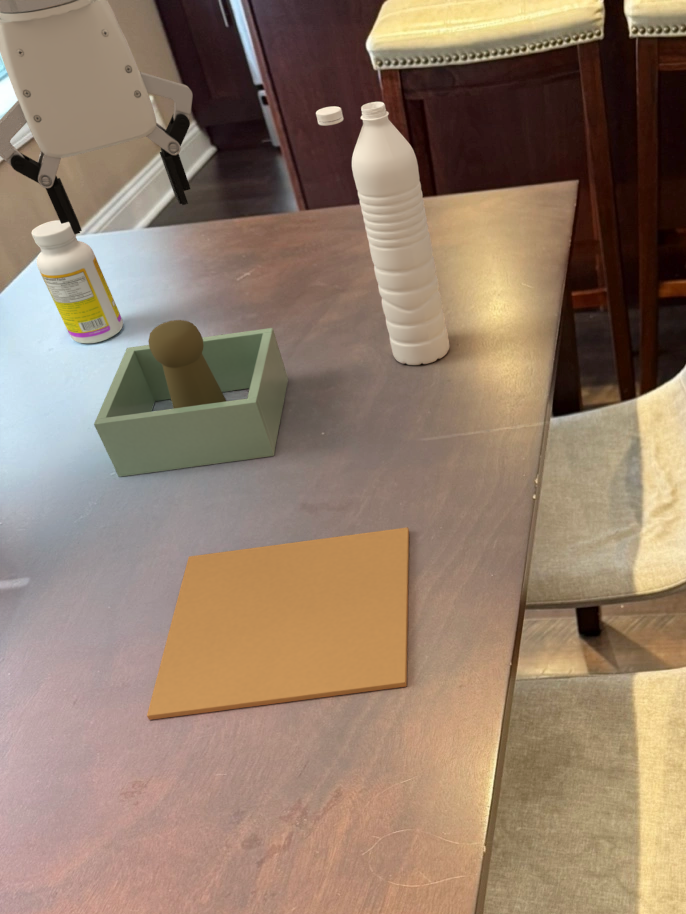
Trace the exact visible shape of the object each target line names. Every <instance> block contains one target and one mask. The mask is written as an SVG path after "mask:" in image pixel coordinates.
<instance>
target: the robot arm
mask: <svg viewBox="0 0 686 914" xmlns="http://www.w3.org/2000/svg"><path fill="white" fill-rule="evenodd" d="M0 56H1V58H2V62H3V64H4V68H5V70H6V73H7V75H8V78H9V80H10V81H9V82H10V83H11V86H12V88H13V91H14V94H15V97H16V99H17V101H16V102H15V103H14V104H13V105H12V106H11V107H10V108H9V109H8V111H7V112H6V113H4V115H3V116H2V117H0V158H2V160H4V161H5V162H6V163H7V164H8V165H10V167H11V168H12V169H13V170H14V171H15V172H17V173H18V174H20V175H23V176H24V177H26V178H28V179H30V180H32V181H34V182H36V183H37V184H39V185H40V186H41V187H42V188H44V189H45V191H46V193H47V195H48V197H49V200H50V202H51V204H52V206H53V209H54V212H55V213H56V216H57V217H58V220H60V222H61V224H63V223H67V222H69V223H70V225H71V228H72V230H73V232H74V234H76V235H78V234H81V232H82V231H83V230H82V227H81V224H80V222H79V221H80V220H79V219H78V217H77V214H76V212H75V209H74V208H73V205H72V203H71V200H70V198H69V196H68V194H67V191H66V189H65V186H64V184H63V182H62V180H61V177H58V176H57V173H58V170H59V166H60V163H61V160H62V159H65V158H70V157H75V156H79V155H82V154H87V153H91V152H95V151H99V150H102V149H103V150H104V149H106V148H111V147H114V146H117V145H122V144H125V143H126V144H127V143H130V142H133V141H137V140H140V139H143V138H145V137H146V138H147V139H148V140H150V141H152V142H153V143H154V144H156V145H157V146H159V148H160V151H159V154H160V158H161V161H162V164H163V166H164V169H165V173H166V174H167V177H168V178H167V179H168V180H169V184H170V186H171V190H172V191H173V194H174V196H175V198H176V200H177V202H178V203H179V205H182V206H185V205H188V204H189V202H188V199H187V196H186V193H185V192H186V191H189V190H191V185H190V183H189V180H188V177H187V173H186V171H185V168H184V165H183V163H182V159H181V157H180V152H181V150H182V149H181V148H182V147H181V146H182V145H183V142H184V140H185V137H186V135H187V133H188V131H189V128H190V125H191V121H190V119H191V115H192V106H193V105H192V104H193V98H194V97H193V91H192V89H191V88H190V87H189V86H188V85H186V84H184V83H180V82H176V81H174V80H170V79H167V78H163V77H160V76H156V75H154V74H150V73H146V72H144V71H140V69H139V66H138V64H137V62H136V58H135V57H134V55H133V52H132V49H131V47H130V45H129V42H128V40H127V38H126V36H125V34H124V32H123V29H122V27H121V25H120V22H119V20H118V18H117V16H116V14H115V11H114V10H113V8H112V6H111V4H110V2H109V0H0ZM150 94H151V95H155V96H159V97H161V98H165V99H168V100H171V101H173V113H172V115H171V118H170V120H169V122H168V124H167V127H166V128H164V126H162V125H161V124H160V123H158V122H157V117H156V113H155V109H154V107H153V104H152V100H151V98H150ZM26 124H27V126H28V128H29V131H30V133H31V135H32V137H33V139H34V141H35V142H36V144H37V147H38V149H39V150H40V152H39V155H38V159H37V161H36V160H35V159H33V158H31V157H29V156H27V155H26V154H23V153H22V152H20V151H19V150H18V149H17V148H16V147H15V146H14V145H13V144H12V143H11V140H12V139H13V138H14V137H15V136H16V135H17V134H18V132H19V131H20V130H21V129H22V128H23V127H24V126H25V125H26Z"/></svg>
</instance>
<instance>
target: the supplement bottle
mask: <svg viewBox="0 0 686 914" xmlns="http://www.w3.org/2000/svg"><path fill="white" fill-rule="evenodd" d="M31 236H32V238H33V240H34V243H35V245H37V246H38V247H39V248H40V252H39V254H38V255H37V257H36V266H37V269H38V271H39V273H40V275H41V277H42V279H43V281H44V284H45V286H46V288H47V291H48V292H49V294H50V296H51V298H52V301H53V303H54V305H55V307H56V309H57V311H58V313H59V315H60V318H61V319H62V322H63V324H64V326H65V328H66V331H67V332H68V334H69V337H70V338H71V339H72V340H73V341H75V342H77V343H79V344H96V343H100V342H103V341H106V340H108V339H111V338H112V337H114V336H115V335H117V334H118V333H119V332H121V330H123V329H122V328H123V326H124V320H123V318H122V316H121V313H120V310H119V308H118V306H117V304H116V301H115V299H114V296H113V294H112V292H111V290H110V287H109V285H108V283H107V281H106V278H105V275H104V273H103V271H102V269H101V266H100V264H99V262H98V259H97V256H96V254H95V252H94V250H93V248H92V247H91V246H90V245H89V244H87V243H86V242H84V241H81V240H78V238H77V234H74V232H73V230H72V228H71V225H70V223H69V222H67V223H63V224H61V222H60V220H59V219H55V220H50V221H47V222H44V223H42V224H39V225H37V226H36V227H34V228H33V229H32V230H31Z"/></svg>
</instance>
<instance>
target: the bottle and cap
mask: <svg viewBox="0 0 686 914" xmlns="http://www.w3.org/2000/svg"><path fill="white" fill-rule="evenodd" d="M360 109H361V110H360V111H361V116H360V120H362V126H361V129H360V132H359V135H358V137H357V140H356V144H355V146H354V149H353V152H352V155H351V156H352V157H351V170H352V176H353V180H354V183H355V187H356V190H357V197H358V200H359V205H360V209H361V214H362V216H363V217H362V219H363V224H364V228H365V232H366V237H367V240H368V246H369V253H370V258H371V261H372V263H373V265H374V266H373V270H374V276H375V279H376V282H377V284H378V285H377V287H378V294H379V296H380V297H381V307H382V312H383V315H384V317H385V325H386V329H387V333H388V335H389V343H390V348H391V352H392V355H393V358H394V359H395V360H396V361H397V362H398V363H400V364H403V365H404V364H406V365H408V366H420V365H421V364H423V365H427V364H432V363H433V362H434V363H435V362H436V361H437V360H439V359H440V360H441V359H442V358H443V357H445V356H446V355H447V353H448V352H449V350H450V340H449V334H448V329H447V326H446V319H445V313H444V312H445V311H444V308H443V299H442V296H441V292H440V290H439V288H440V285H439V284H440V283H439V279H438V276H437V267H436V262H435V261H436V260H435V257H434V255H433V252H434V250H433V244H432V239H431V234H430V231H429V224H428V218H427V215H426V214H427V213H426V207H425V200H424V198H423V196H424V195H423V191H422V184H421V181H420V172H419V164H418V159H417V156H416V153H415V150H414V148H413V147H412V145H411V144H410V143H409V141H408V140H407V139H406V137H404V135H403V134H402V133H401V132H400V131H399V130H398V128H397V127H396V126H395V125H394V124H393V123H392V121H391V120H390V119H389V114H390V112H389V111H388V110H387V109H386V104H385V103H384V102H383V101H371V102H368V103H365V104H363V105H362V106H361V107H360ZM315 116H316V119H317V120H316V121H317V124H318V125H319V126H334V125H337V124H339V123H342V122H343V121H344V115H343V110H342V107H339V106H335V105H334V106H326V107H322V108H320V109H318V110H316V112H315Z"/></svg>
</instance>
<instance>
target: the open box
mask: <svg viewBox="0 0 686 914" xmlns="http://www.w3.org/2000/svg"><path fill="white" fill-rule="evenodd" d="M202 339H203V345H204V346H203V351H202V354H203V356H204V358H205V360H206V362H207V364H208V366H209V368H210V370H211V372H212V374H213V376H214V378H215V380H216V381H217V383H218V385H219V387H220V389H221V391H222V393H224V392H225V393H226V392H232V391H240V390H247V389H248V394H247V398H241V399H235V400H226V402H218V403H211V404H204V405H196V406H189V407H182V408H174V409H173V408H169V409H161V410H160V409H159V410H155V411H153V409H154V405H155V403H156V402H158V401H159V402H160V401H166V400H171V397H170V393H169V389H168V385H167V381H166V377H165V373H164V369H163V365H162V364H161V363H160V362H158V361H157V360H156V359H155V357H154V356H153V354H152V352H151V350H150V348H149V344H144V345H137V346H130V347H126V350H125V352H124V354H123V356H122V358H121V361H120V363H119V365H118V367H117V370H116V373H115V374H114V377H113V379H112V382H111V383H110V386H109V388H108V390H107V393H106V395H105V398H104V400H103V402H102V404H101V407H100V408H99V411H98V414H97V416H96V418H95V420H94V423H93V426H94V428H95V430H96V432H97V434H98V437H99V438H100V441H101V442H102V446H103V447H104V449H105V451H106V453H107V456H108V457H109V459H110V462H111V464H112V466H113V468H114V470H115V472H116V474H117V477H118V478H119V477H128V476H136V475H143V474H150V473H156V472H158V473H159V472H165V471H172V470H179V469H187V468H188V469H189V468H195V467H201V466H209V465H216V464H217V465H218V464H223V463H224V464H225V463H230V462H231V463H232V462H239V461H247V460H253V459H262V458H269V457H274V456H275V451H276V445H277V440H278V435H279V429H280V424H281V419H282V414H283V408H284V404H285V398H286V394H287V393H286V392H287V387H288V382H289V376H288V373H287V370H286V366H285V364H284V360H283V356H282V353H281V349H280V347H279V344H278V340H277V337H276V335H275V330H274V328H273V327H269V328H261V329H253V330H247V331H246V330H245V331H240V332H233V333H225V334H217V335H211V336H210V335H209V336H202Z"/></svg>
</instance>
